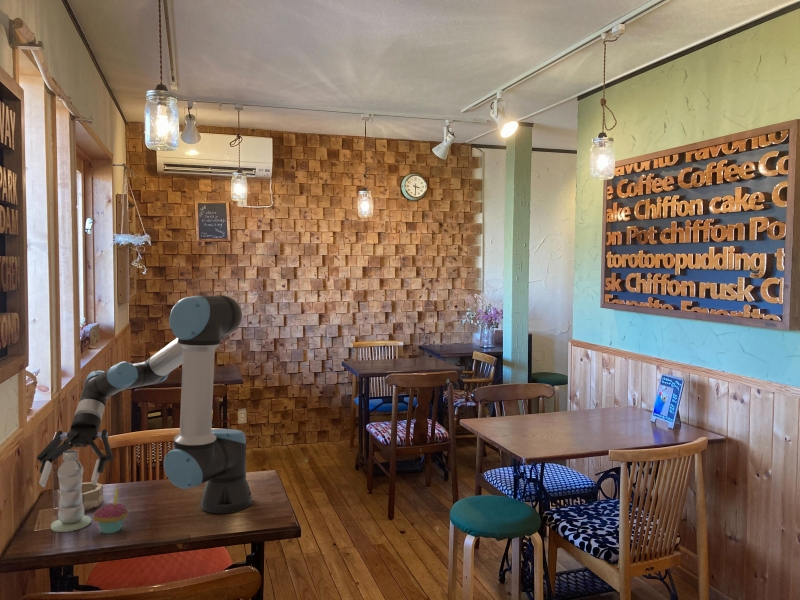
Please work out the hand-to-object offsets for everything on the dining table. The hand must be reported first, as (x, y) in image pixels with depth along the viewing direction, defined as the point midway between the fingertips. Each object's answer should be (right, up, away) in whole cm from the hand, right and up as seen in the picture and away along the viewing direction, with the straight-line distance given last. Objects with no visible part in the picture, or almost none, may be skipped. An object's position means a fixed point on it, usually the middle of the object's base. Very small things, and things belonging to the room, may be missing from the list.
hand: (67, 483), depth 171 cm
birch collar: (-5, -12, +18) cm, 22 cm away
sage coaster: (0, -12, +2) cm, 12 cm away
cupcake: (+13, -13, -1) cm, 18 cm away
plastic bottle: (0, -12, +2) cm, 12 cm away
